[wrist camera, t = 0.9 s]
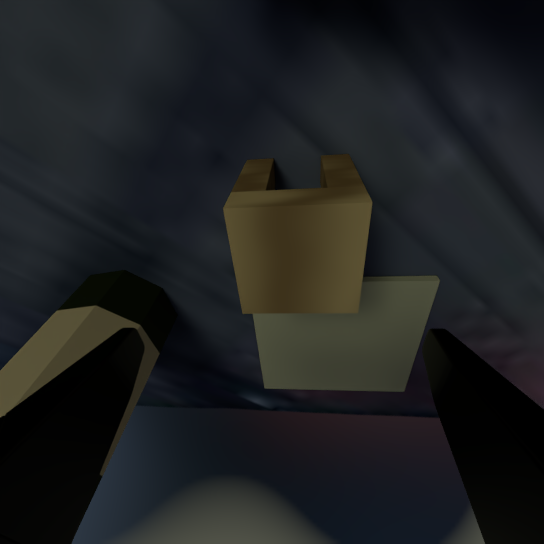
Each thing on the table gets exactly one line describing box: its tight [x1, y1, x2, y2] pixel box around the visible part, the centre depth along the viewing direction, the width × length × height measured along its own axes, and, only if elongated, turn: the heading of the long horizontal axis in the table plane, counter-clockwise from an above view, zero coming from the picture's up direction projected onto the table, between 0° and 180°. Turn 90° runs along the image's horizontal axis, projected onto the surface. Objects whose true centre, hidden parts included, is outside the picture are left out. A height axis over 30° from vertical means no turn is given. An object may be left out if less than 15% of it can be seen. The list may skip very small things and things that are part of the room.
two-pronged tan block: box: [223, 154, 372, 314], centre depth 17 cm, size 6×6×7 cm
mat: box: [253, 276, 440, 392], centre depth 26 cm, size 14×14×1 cm
